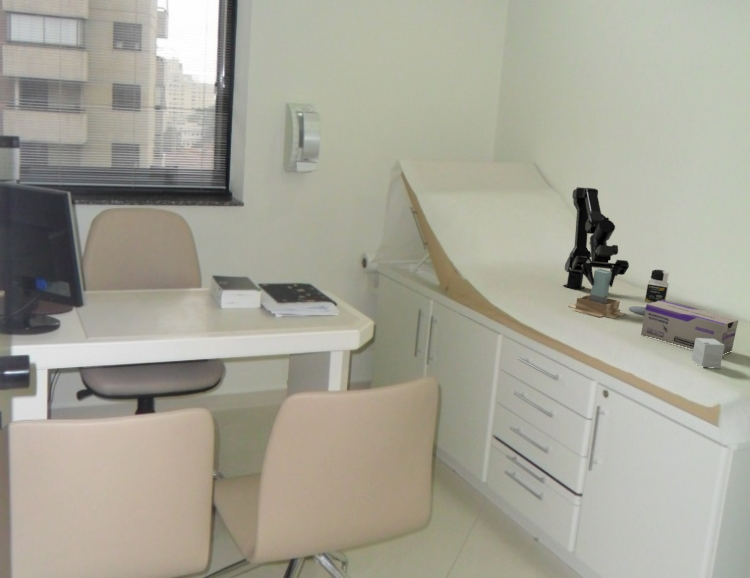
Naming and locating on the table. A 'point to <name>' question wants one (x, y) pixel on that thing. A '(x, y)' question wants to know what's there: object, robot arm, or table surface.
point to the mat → (638, 310)
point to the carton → (597, 307)
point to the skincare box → (708, 352)
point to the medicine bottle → (657, 286)
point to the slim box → (600, 286)
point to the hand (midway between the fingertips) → (602, 285)
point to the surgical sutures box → (687, 325)
